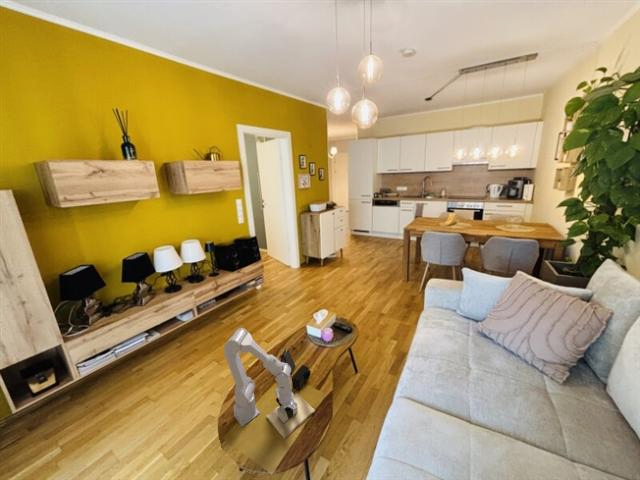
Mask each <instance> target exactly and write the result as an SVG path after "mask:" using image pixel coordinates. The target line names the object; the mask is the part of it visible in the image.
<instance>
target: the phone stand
mask: <svg viewBox="0 0 640 480" xmlns="http://www.w3.org/2000/svg"><path fill="white" fill-rule="evenodd" d="M290 351H291V350H290V349H289V348H287V347H286V348H285V349H284V350H283V352H282V353H281V356H280V362H283V363H287V364H289V365H290V367H291V373H290V375H293V373H294V372H295V371H294V370H295V369H296V367H297V366H296V364H295V362H294V360H293V357H292V355H291V352H290Z"/></svg>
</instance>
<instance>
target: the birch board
mask: <svg viewBox="0 0 640 480" xmlns="http://www.w3.org/2000/svg"><path fill="white" fill-rule="evenodd" d="M293 394H294V395H293V396H292V397H293V399H294V402H295V403H296V404H297V409H298V410H297V411H298V412H297V413H296V414H295V415H294V416H293V417H292V418H290V419H289V420H288V421H287V422H286V423H284V424H283V422H282V421H281V420H280V419H279V418H278V412H277V409H278V408H279V407H280V406H279V405H278V406H277V407H276V408H274V409H273V410H272V411H271V412H269V413H268V414H267V415H265V416H266V419H267V420H268V421H269V423H270V424H271V425H272V426H273V427H274V429H275V430H276V431H277V433H279V434H280V437H282V438H283V439H286V438H287V437H288V436H289V435H290V434H292V433H293V432H294V431H295V430H296V429H297V428H298V427H299V426H301V425H302V424H303V423H304V422H305V421H306V420H308V419H309V418H310V417H311V416H312V415H313V414H314V413H315V412H316V410H315V409H314V408H313V407H312V405H310V404H309V403H308V402H307V401H306V400H305V399H304V398H303V397H302V396H301V395H299V393H298V392H295V393H293ZM312 413H313V414H312ZM311 414H312V415H311ZM310 415H311V416H310ZM309 416H310V417H309ZM308 417H309V418H308Z"/></svg>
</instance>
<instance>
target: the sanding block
mask: <svg viewBox="0 0 640 480" xmlns="http://www.w3.org/2000/svg"><path fill="white" fill-rule="evenodd" d="M286 407H287V406H284V405H282V406H280V407H279V408H278V409H277V412H278V418H279V419H280V420H281V421H282V422H283V424H284V423H286V422H287V421H288V420H289V418H288V416H287V413H286V411H285V410H284V409H285V408H286ZM297 412H298V411H296V412H293V416H294V415H295V414H296V413H297ZM291 418H292V417H291Z"/></svg>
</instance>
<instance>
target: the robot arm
mask: <svg viewBox="0 0 640 480" xmlns="http://www.w3.org/2000/svg"><path fill="white" fill-rule="evenodd" d="M247 352H248V353H250V354H251V355H253V356H254V357H256V358H257V359H258V360H260V361H262V365H263V367H264V368H265V369H266V370H268V372H270V373H271V374H272V375H273V376H275V378H274V380H275V381H276V382H277V388H276V389H274V393H275V395H277V397H276V398H275V401H276V403H277V404H278V406H282V405H284V406H287V407H286V408H285V409H284V410H285V411H286V413H287V416H288V418H289V419H290V418H291V417H293V412H296V411H297V410H298V409H297V404H296V403H295V402H294V399H293V397H292V396H293V395H294V394H295V393H294V392H293V391H292V379H291V374H290V373H291V367H290V365H289V364H287V363H283V362H281V360H279V359H278V358H277V357H276V356H274V355H273V354H269V353H267V352H266V351H265V350H264V349H263V348H262V347H261V346H260V345H259V344H258V343H257V342H256V341H255V340H254V339H253V336H252V334H251V333H250V332H249V331H247V329H245V328H244V327H238V328H237V329H235V330H234V332H233V333H232V335H231V336H230V338H229V339H228V340H227V342H226V343H225V344H224V350H223V353H224V357H225V360H226V362H227V364H228V368H229V370H230V372H231V376H232V378H233V380H234V383H235V388H234V389H235V390H234V396H235V399H234V402H235V403H234V404H233V407H232V408H233V414H234V415H233V417H234V418H235V419H236V420H237V422H238V424H239V425H240V427H244V426H245V425H246V424H248V423H249V422H251V420H253V419H255V418H257V416H258V415H260V414H261V413H260V411H259V409H258V408H257V406H256V400H255V392H254V390H255V389H256V383H255V382H254V381H253V379H252V378H251V377H250V376H249V377H248V376H247V375H248V374H247V373H246V371H245V367H244V365H243V362H242V359H241V356H240V354H245V353H247Z"/></svg>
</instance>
